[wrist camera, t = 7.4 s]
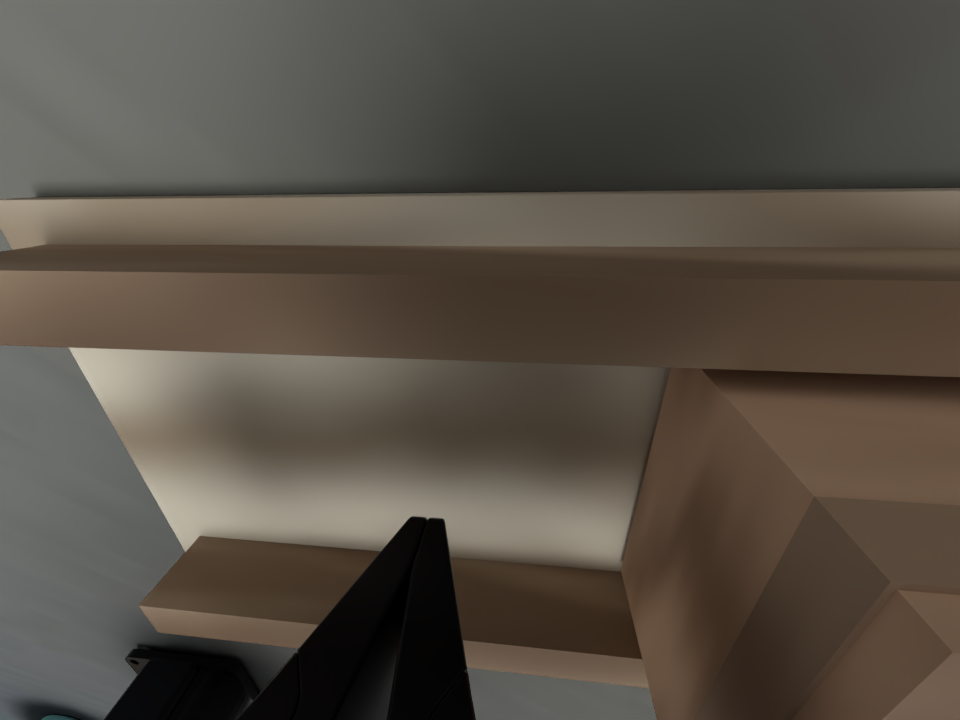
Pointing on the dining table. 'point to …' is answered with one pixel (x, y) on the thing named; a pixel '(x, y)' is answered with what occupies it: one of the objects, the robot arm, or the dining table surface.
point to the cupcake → (57, 717)
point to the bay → (451, 376)
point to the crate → (800, 547)
